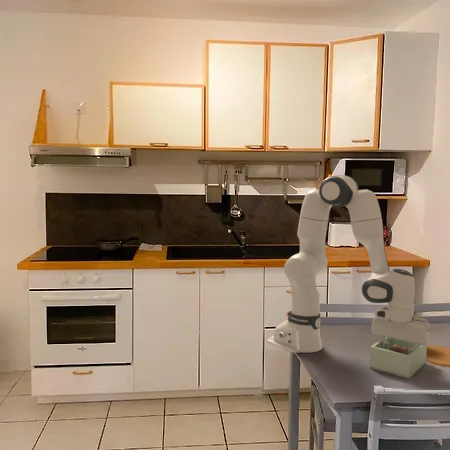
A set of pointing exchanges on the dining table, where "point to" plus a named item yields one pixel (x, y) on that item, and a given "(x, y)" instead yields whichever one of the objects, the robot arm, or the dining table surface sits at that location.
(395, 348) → the block
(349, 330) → the dining table surface
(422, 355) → the bin
